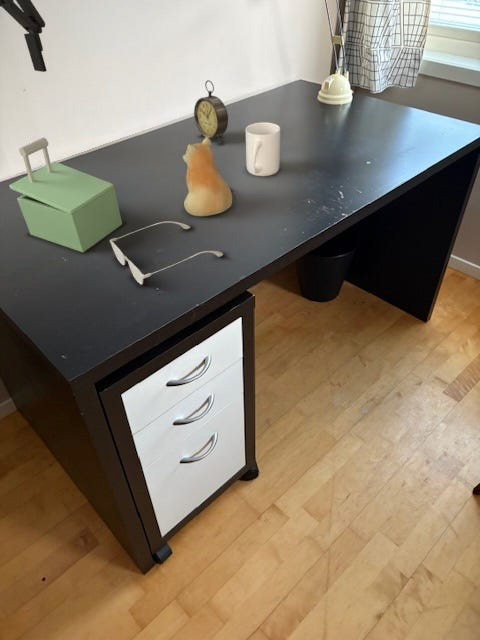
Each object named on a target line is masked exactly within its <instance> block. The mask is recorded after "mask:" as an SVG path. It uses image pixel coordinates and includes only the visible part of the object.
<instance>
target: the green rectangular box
mask: <svg viewBox="0 0 480 640" xmlns="http://www.w3.org/2000/svg"><path fill="white" fill-rule="evenodd" d="M16 200H17V203H18V205H19V208H20V211H21V213H22V216H23V218H24V221H25V223H26V226H27V229H28V232H29V234H30V236H33V237H35V238H40V239H42V240H45V241H48V242H50V243H54V244H57V245H60V246H63V247H66V248H68V249H71V250H75V251H78V252H81V253H84V252H86V251H87V250H89V249H90V248H91V247H93V246H94V245H96V244H97V243H98V242H100V241H101V240H103V239H104V238H106V237H107V236H108V235H110V234H111V233H112V232H114V231H116V230H117V229H118V228H119V227H120V226H122V225H123V220H122V217H121V213H120V208H119V203H118V198H117V196H116V190H115V187H114V188H112V189H111V190H109V191H107V192H106V193H104V194H103V195H101V196H100V197H98V198H96V199H95V200H93V201H92V202H90V203H89V204H87V205H85V206H84V207H82V208H81V209H79V210H78V211H76V212H74V213H73V214H69V213H67V212H64V211H62V210H60V209H57V208H55V207H52V206H50V205H48V204H46V203H43V202H41V201H39V200H36V199H34V198H31V197H29V196H27V195H24V194H22V195H20V196H19V197H17V198H16Z"/></svg>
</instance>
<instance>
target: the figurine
mask: <svg viewBox="0 0 480 640" xmlns="http://www.w3.org/2000/svg"><path fill="white" fill-rule="evenodd" d="M182 159H183V161H184V162H185V164H186V166H187V170H186V174H185V175H186V176H185V182H186V187H187V189H188V193H187V195H186V197H185V199H184V201H183V202H184V209H185V211H186V212H187V213H188V214H190V215H192V216H194V217H208V216H209V217H210V216H214V215H217V214H220V213H224V212H225V211H227V210H228V209H230V208H231V207H232V204H233V193H232V190H231V188H230V186H229V184H228V183H227V182H226V180H225V179H224V178H223V177H222V176H221V173H220V172H219V170H218V168H217V166H216V163H215V155H214V152H213V150H212V141H211V139H209V138H208V137H205V138H204V139H203V140H202V142H197V143H193V144H188V145H187V148H186V151H185V154H182Z"/></svg>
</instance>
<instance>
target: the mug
mask: <svg viewBox="0 0 480 640" xmlns="http://www.w3.org/2000/svg"><path fill="white" fill-rule="evenodd" d="M245 157H246V158H245V159H246V160H245V162H246V170H247V172H248V173H249V174H251V175H252V176H256V177H269V176H273V175H275V174H276V173H278V171H279V170H280V164H281V163H280V162H281V161H280V160H281V159H280V158H281V126H280V125H278V124H276V123H273V122H255V123H251V124H248V125H247V126H246V127H245Z"/></svg>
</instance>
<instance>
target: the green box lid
mask: <svg viewBox="0 0 480 640" xmlns="http://www.w3.org/2000/svg"><path fill="white" fill-rule="evenodd" d="M48 146H49V141H48V140H47V138H46V137H41V138H39V139H36V140H34V141H32V142H29V143H28V144H25V145H24V146H21V147H19V149H18V152H19V155H21V157H22V158H23V162H24V166H25V169H26V173H27V175H25V176H23V177H22V178H20V179H18V180H16V181H14V182H12V183H11V184H9V185H8V186H9V189H10V190H12V191H14V192H17V193H20V194H22V195H27V196H29V197H31V198H34V199H36V200H39V201H41V202H43V203H46V204H48V205H50V206H53V207H55V208H57V209H60V210H62V211H64V212H67V213H69V214H73V213H74V212H76V211H78V210H79V209H81V208H82V207H84V206H85V205H87V204H89V203H90V202H92V201H93V200H95V199H96V198H98V197H100V196H101V195H103V194H104V193H106V192H107V191H109V190H111V189H112V188H114V189H115V185H114V183H111V182H109V181H107V180H104V179H101V178H98V177H96V176H94V175H91V174H88V173H87V172H86V173H85V172H82V171H81V170H78V169H75V168H72V167H70V166H67V165H65V164H63V163H59V162H57V161H52V162H51V159H50V156H49V155H50V154H49V151H48ZM40 150H42V153H43V158H44V162H45V166H43V167H40V168H39V169H37V170H35V171H33V170H32V166H31V162H30V158H29V156H30V155H32V154H35V153H37V152H38V151H40Z"/></svg>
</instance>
